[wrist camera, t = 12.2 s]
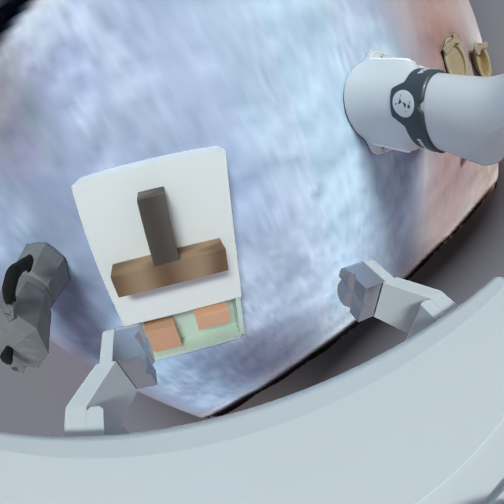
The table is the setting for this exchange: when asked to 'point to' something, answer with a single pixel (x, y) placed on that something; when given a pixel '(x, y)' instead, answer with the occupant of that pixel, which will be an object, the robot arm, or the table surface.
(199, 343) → the box
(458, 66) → the tableware set
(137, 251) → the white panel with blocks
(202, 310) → the tile
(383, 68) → the robot arm
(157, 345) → the tile
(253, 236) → the table surface
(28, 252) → the coffeepot
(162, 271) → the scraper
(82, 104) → the table surface
